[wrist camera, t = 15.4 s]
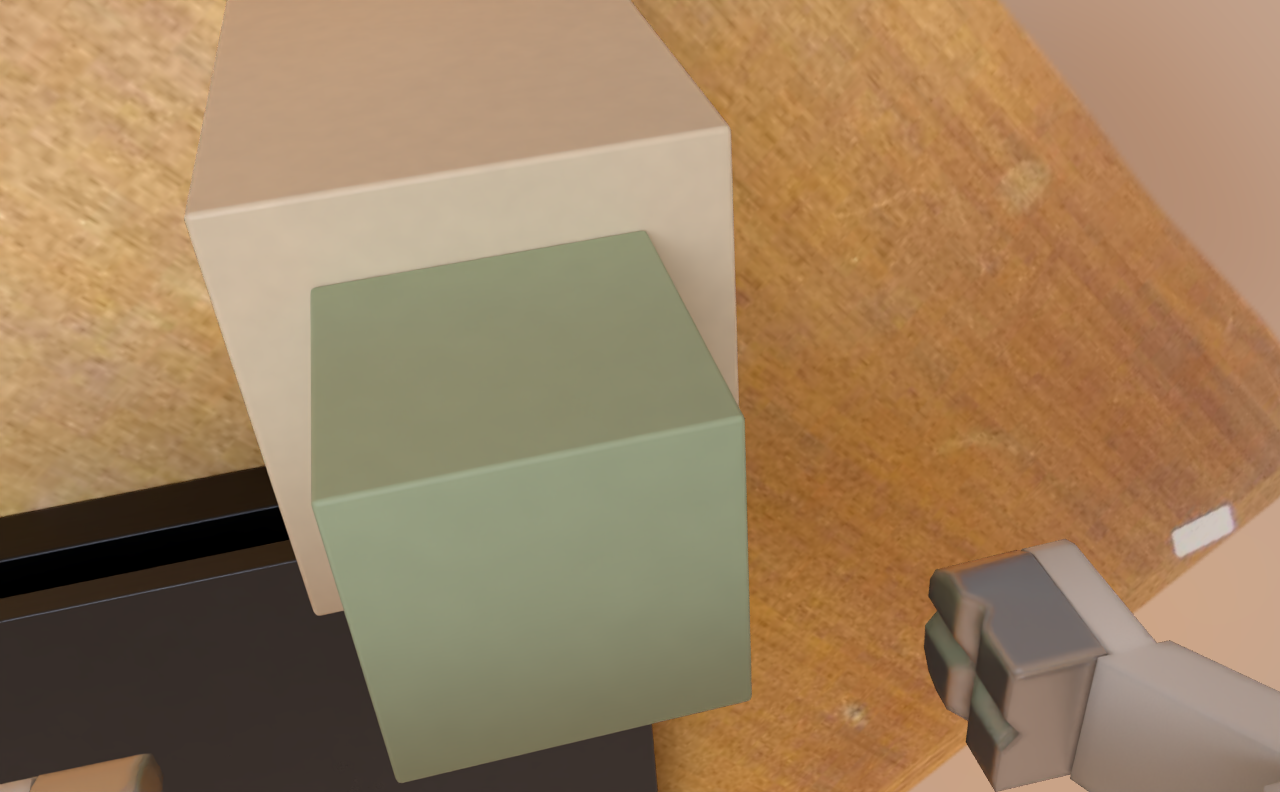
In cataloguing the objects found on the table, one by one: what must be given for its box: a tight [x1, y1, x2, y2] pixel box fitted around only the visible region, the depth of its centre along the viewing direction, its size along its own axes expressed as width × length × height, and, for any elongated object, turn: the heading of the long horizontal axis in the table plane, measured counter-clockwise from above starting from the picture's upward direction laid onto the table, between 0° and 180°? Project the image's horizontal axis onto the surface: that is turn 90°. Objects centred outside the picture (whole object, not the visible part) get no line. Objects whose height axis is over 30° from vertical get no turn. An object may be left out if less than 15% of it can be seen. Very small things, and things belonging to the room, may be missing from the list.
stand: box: [184, 0, 739, 616], centre depth 22 cm, size 7×7×12 cm
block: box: [310, 231, 752, 783], centre depth 15 cm, size 4×4×4 cm
